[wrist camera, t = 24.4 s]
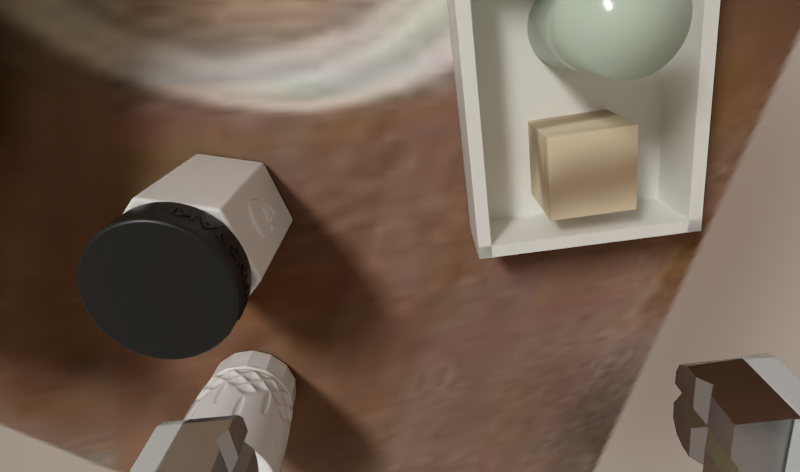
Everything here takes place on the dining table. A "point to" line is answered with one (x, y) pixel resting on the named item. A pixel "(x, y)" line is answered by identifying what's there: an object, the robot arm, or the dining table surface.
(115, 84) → the dining table surface
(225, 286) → the jar
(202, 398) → the white cup
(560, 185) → the beech cube
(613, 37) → the sage cylinder
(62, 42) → the dining table surface
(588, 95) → the tote
